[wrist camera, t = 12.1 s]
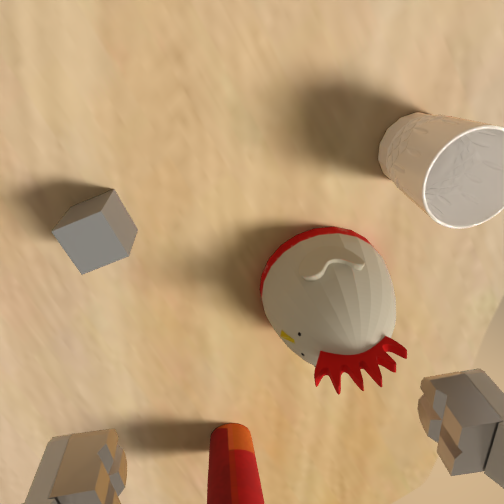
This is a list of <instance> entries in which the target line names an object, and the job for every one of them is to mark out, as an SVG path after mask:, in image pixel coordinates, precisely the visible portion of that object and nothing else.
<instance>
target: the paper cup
mask: <svg viewBox="0 0 504 504" xmlns="http://www.w3.org/2000/svg"><path fill="white" fill-rule="evenodd" d="M207 504H264V499H263V494H262V489H261V483H260V478H259V473H258V468H257V463H256V458H255V452H254V447H253V443H252V438H251V434H250V431H249V430H248V428H247V427H245V426H243V425H241V424H236V423H229V424H224V425H222V426H220V427H218V428H216V429H215V430H214V431H213V433H212V434H211V438H210V451H209V470H208V489H207Z"/></svg>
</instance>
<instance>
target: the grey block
mask: <svg viewBox="0 0 504 504" xmlns="http://www.w3.org/2000/svg"><path fill="white" fill-rule="evenodd" d="M137 231H138V229H137V227H136V226H135V224H134V222H133V220H132V219H131V217H130V215H129V214H128V212H127V210H126V208H125V207H124V205H123V203H122V202H121V200H120V198H119V196H118V195H117V193H116V191H115V190H114V189H113V190H111V191H108V192H106V193H104V194H101V195H99V196H96V197H94V198H91V199H89V200H87V201H84V202H82V203H79V204H77V205H74V206H72V207H70V209H69V210H68V211H67V212H66V214H65V215H64V216H63V217H62V219H61V220H60V221H59V222H58V224H57V225H56V226H55V227H54V229H53V230H52V231H51V232H52V233H53V235H54V236H55V238H56V239H57V240H58V242H59V243H60V245H61V246H62V247H63V249H64V250H65V252H66V253H67V254H68V256H69V257H70V259H71V260H72V262H73V263H74V264H75V266H76V267H77V269H78V270H79V271H80V273H81V274H82V275H83V274H85V273H88V272H90V271H93V270H95V269H98V268H100V267H103V266H105V265H108V264H110V263H113V262H115V261H118V260H120V259H123V258H125V257H128V256H129V254H130V251H131V249H132V246H133V243H134V240H135V237H136V234H137Z"/></svg>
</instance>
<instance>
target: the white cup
mask: <svg viewBox="0 0 504 504" xmlns="http://www.w3.org/2000/svg"><path fill="white" fill-rule="evenodd" d="M378 161H379V164H380V166H381V169H382V171H383V173H384V174H385V175H386V176H387V177H388V178H390V179H391V180H392V181H393V182H394V184H395V185H396V186H397V188H399V189H400V190H401V191H402V192H403V193H404V194H405V195H406V196H407V197H408V198H409V199H410V200H411V201H413V202H414V203H415V204H416V205H417V206H418V207H419V208H420V209H422V210H423V211H424V212H425V213H426V214H427V215H428V216H429V217H431V218H432V219H433V220H434V221H435V222H437V223H438V224H440V225H442V226H445V227H448V228H454V229H463V228H469V227H473V226H476V225H479V224H482V223H484V222H486V221H488V220H489V219H491V218H493V217H494V216H495V215H497V214H498V213H499V212H500V211H502V210H503V209H504V127H501V126H496V125H491V124H486V123H481V122H477V121H472V120H467V119H462V118H457V117H452V116H445V115H432V114H426V113H420V112H416V113H413V114H409V115H406V116H403V117H401V118H400V119H398V120H397V121H396V122H395V123H394V124H393V125H391V126H390V127H389V128H388V129H387V131H386V133H385V135H384V136H383V138H382V140H381V142H380V144H379V154H378Z"/></svg>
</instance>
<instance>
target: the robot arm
mask: <svg viewBox="0 0 504 504" xmlns="http://www.w3.org/2000/svg"><path fill="white" fill-rule="evenodd" d="M420 388H421V390H422V392H423V393H424V394H423V395H422V397H421V398H420V399H419V400H418V413H419V418H420V421H421V424H422V426H423V428H424V430H425V432H426V434H427V436H428V437H430V438H431V439H433V440H434V441H436V442H438V447H437V453H438V455H439V456H440V458H441V460H442V461H443V463H444V465H445V467H446V468H447V470H448V472H449V473H450V475H451V476H455V475H461V474H468V473H475V472H482V471H485V472H484V473H485V474H486V475H487V476H488V477H490V478H491V479H492V480H494V481H495V482H496V483H498V484H499V485H500V486H501V487H503V488H504V393H503V392H502V391H501V390H500V389H499V388H498V387H497V385H496V384H495V383H494V382H493V381H492V380H491V378H490V377H489V376H488V375H487V374H486V373H485V372H484V371H483V370H481V369H473V370H467V371H461V372H453V373H447V374H441V375H436V376H430V377H424V378H423V380H422V381H421V386H420ZM117 442H118V435H117V432H116V430H115V429H106V430H99V431H91V432H84V433H76V434H70V435H63V436H57V437H52V439H51V440H50V441H49V442H48V444H47V446H46V449H45V451H44V454H43V457H42V459H41V462H40V464H39V467H38V469H37V472H36V474H35V477H34V480H33V482H32V485H31V487H30V490H29V492H28V495H27V498H26V500H25V503H23V504H121V503H120V500H119V498H118V496H119V495H120V493H121V492H122V491H123V489H124V488H125V485H126V478H127V461H126V455H125V452H124V449H123V448H122V447H120V446H118V445H117Z"/></svg>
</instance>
